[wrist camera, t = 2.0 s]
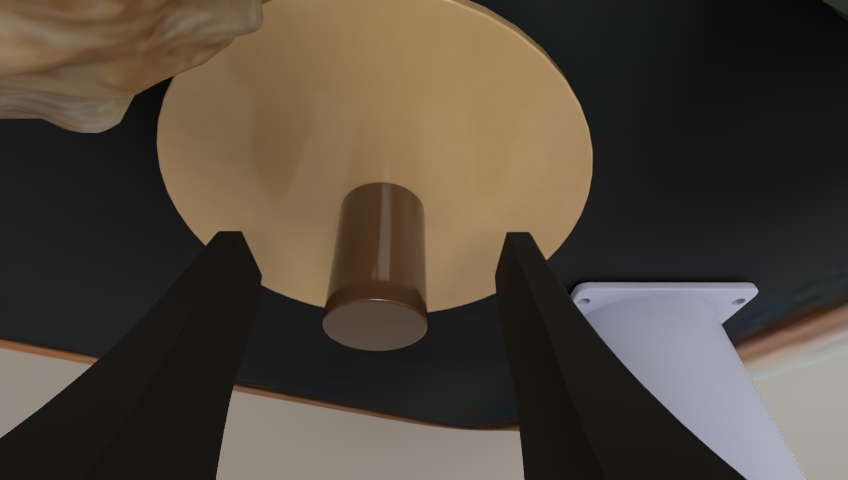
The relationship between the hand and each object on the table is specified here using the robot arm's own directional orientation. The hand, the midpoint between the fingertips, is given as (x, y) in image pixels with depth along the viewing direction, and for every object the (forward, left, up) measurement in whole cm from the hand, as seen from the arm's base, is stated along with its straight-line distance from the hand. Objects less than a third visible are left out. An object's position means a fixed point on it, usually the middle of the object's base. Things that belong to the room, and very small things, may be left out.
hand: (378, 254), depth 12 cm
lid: (0, 0, -2) cm, 2 cm away
